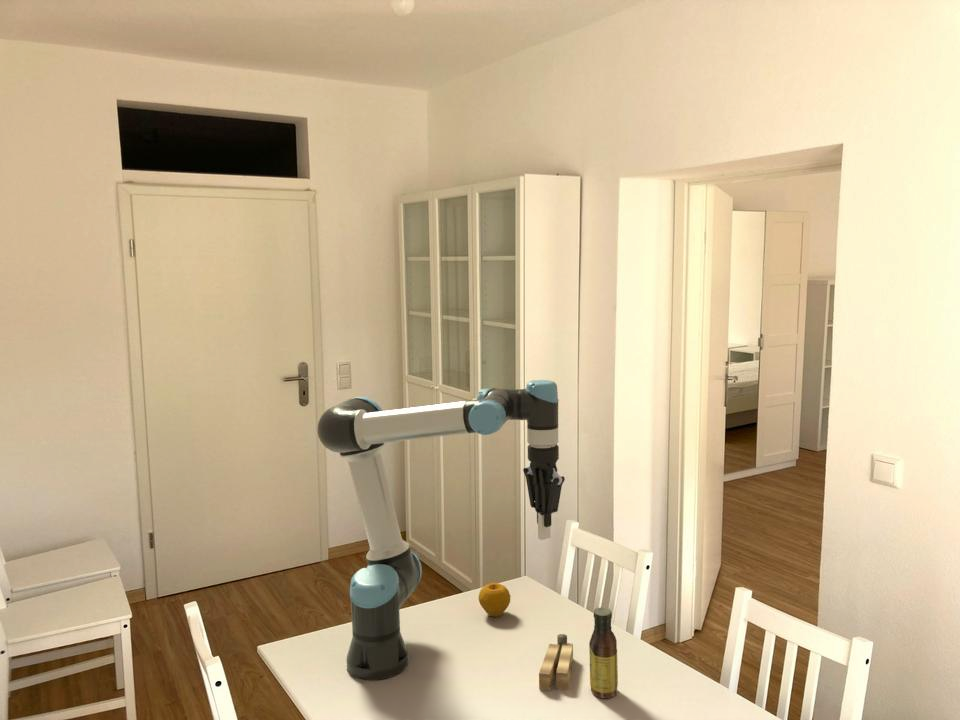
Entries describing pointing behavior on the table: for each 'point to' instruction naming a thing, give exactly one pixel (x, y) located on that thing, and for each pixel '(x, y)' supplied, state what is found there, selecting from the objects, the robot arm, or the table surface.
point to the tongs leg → (549, 667)
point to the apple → (494, 599)
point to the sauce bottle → (603, 655)
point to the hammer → (564, 662)
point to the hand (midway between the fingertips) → (544, 537)
